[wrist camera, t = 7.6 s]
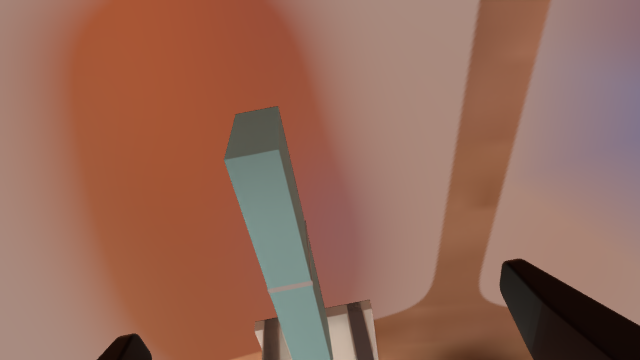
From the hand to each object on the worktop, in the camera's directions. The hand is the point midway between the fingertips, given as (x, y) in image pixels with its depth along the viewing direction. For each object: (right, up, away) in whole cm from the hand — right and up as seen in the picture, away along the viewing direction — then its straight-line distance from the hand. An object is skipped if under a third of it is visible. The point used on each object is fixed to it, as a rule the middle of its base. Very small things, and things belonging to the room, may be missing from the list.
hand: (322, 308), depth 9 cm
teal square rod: (-2, 0, +12) cm, 12 cm away
